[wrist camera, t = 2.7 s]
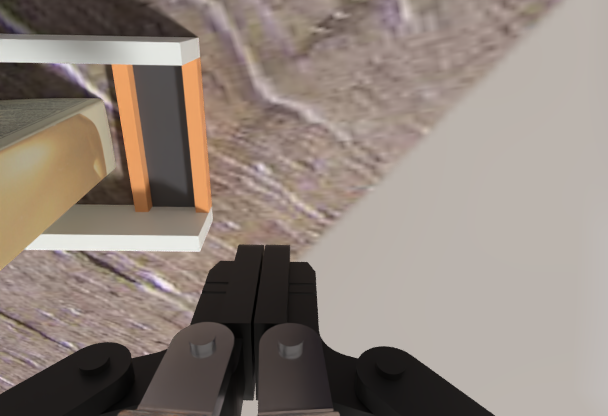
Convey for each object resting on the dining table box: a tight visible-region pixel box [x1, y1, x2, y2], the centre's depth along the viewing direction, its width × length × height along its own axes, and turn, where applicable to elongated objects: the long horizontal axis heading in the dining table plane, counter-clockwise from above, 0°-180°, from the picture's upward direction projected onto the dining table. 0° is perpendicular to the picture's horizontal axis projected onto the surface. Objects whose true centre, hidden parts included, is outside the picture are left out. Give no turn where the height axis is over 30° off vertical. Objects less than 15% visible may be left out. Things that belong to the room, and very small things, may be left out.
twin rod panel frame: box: [0, 34, 213, 252], centre depth 23 cm, size 11×12×4 cm
